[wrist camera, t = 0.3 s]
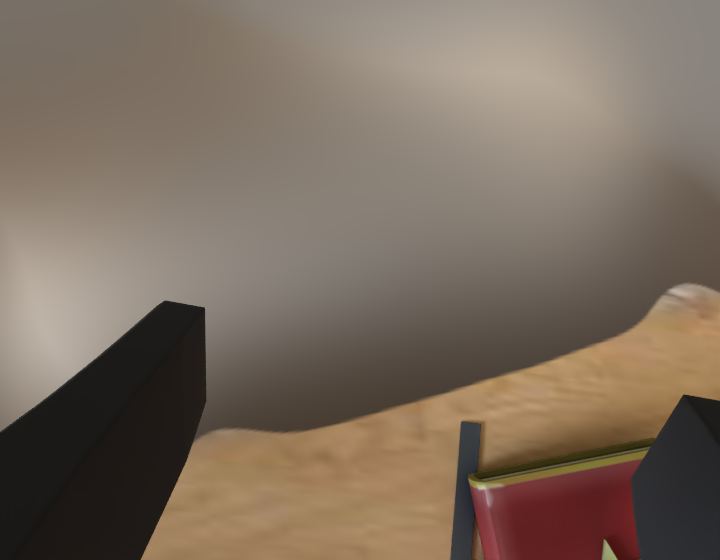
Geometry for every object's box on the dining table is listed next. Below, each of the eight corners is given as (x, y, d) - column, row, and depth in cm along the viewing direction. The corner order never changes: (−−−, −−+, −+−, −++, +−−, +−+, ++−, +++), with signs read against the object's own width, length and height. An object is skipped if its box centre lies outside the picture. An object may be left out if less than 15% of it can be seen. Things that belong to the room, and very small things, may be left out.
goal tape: (754, 626, 39) (755, 627, 38) (448, 593, 39) (448, 594, 38) (754, 453, 40) (755, 453, 40) (461, 421, 40) (461, 421, 40)
